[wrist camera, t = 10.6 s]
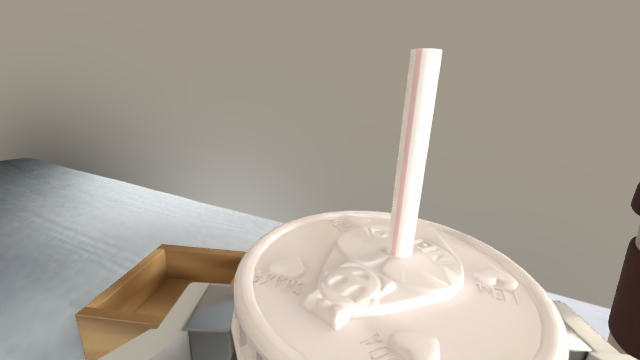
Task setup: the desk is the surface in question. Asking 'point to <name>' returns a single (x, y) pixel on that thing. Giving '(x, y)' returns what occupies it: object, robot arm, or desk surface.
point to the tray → (150, 294)
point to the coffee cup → (628, 298)
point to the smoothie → (390, 277)
